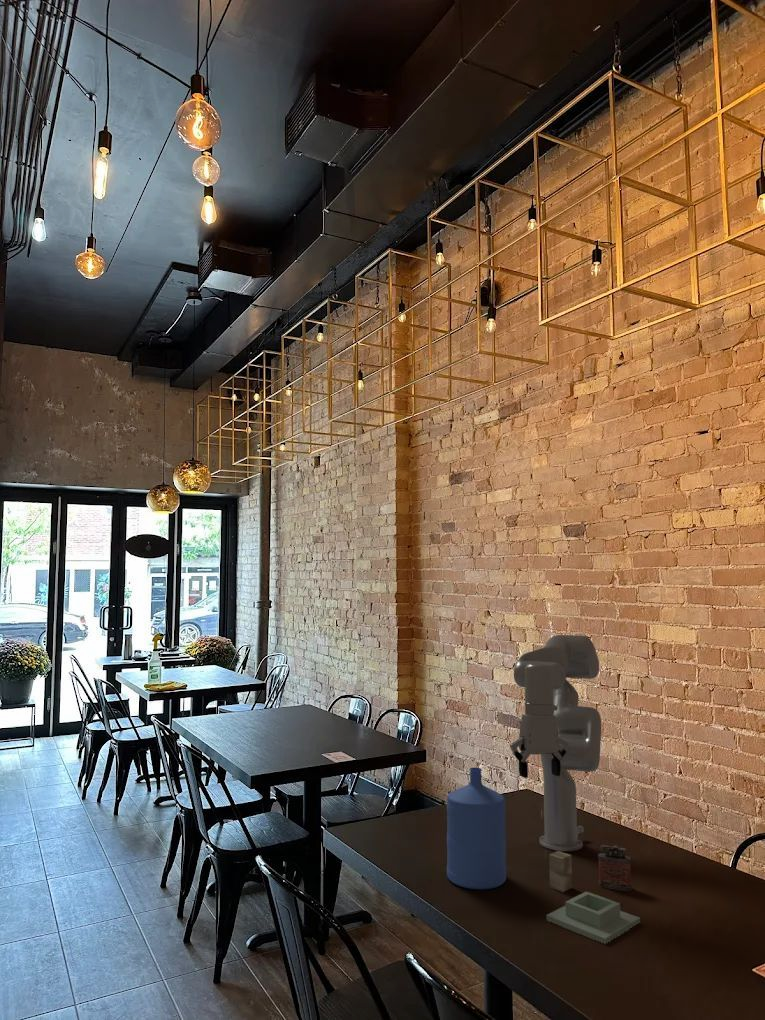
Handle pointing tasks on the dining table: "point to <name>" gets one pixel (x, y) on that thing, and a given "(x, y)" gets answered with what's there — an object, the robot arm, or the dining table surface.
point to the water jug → (476, 835)
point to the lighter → (614, 868)
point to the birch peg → (560, 871)
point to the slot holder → (593, 917)
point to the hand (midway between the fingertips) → (539, 776)
